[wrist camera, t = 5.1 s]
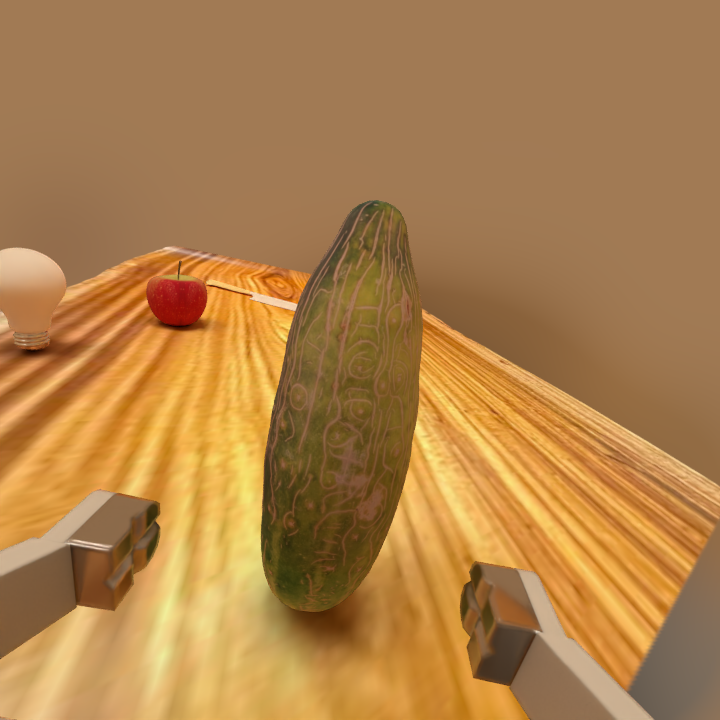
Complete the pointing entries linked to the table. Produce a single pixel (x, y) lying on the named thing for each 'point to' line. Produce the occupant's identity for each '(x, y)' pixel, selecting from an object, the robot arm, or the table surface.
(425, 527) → the table surface
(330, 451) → the vegetable
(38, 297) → the light bulb
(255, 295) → the knife
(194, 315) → the apple
